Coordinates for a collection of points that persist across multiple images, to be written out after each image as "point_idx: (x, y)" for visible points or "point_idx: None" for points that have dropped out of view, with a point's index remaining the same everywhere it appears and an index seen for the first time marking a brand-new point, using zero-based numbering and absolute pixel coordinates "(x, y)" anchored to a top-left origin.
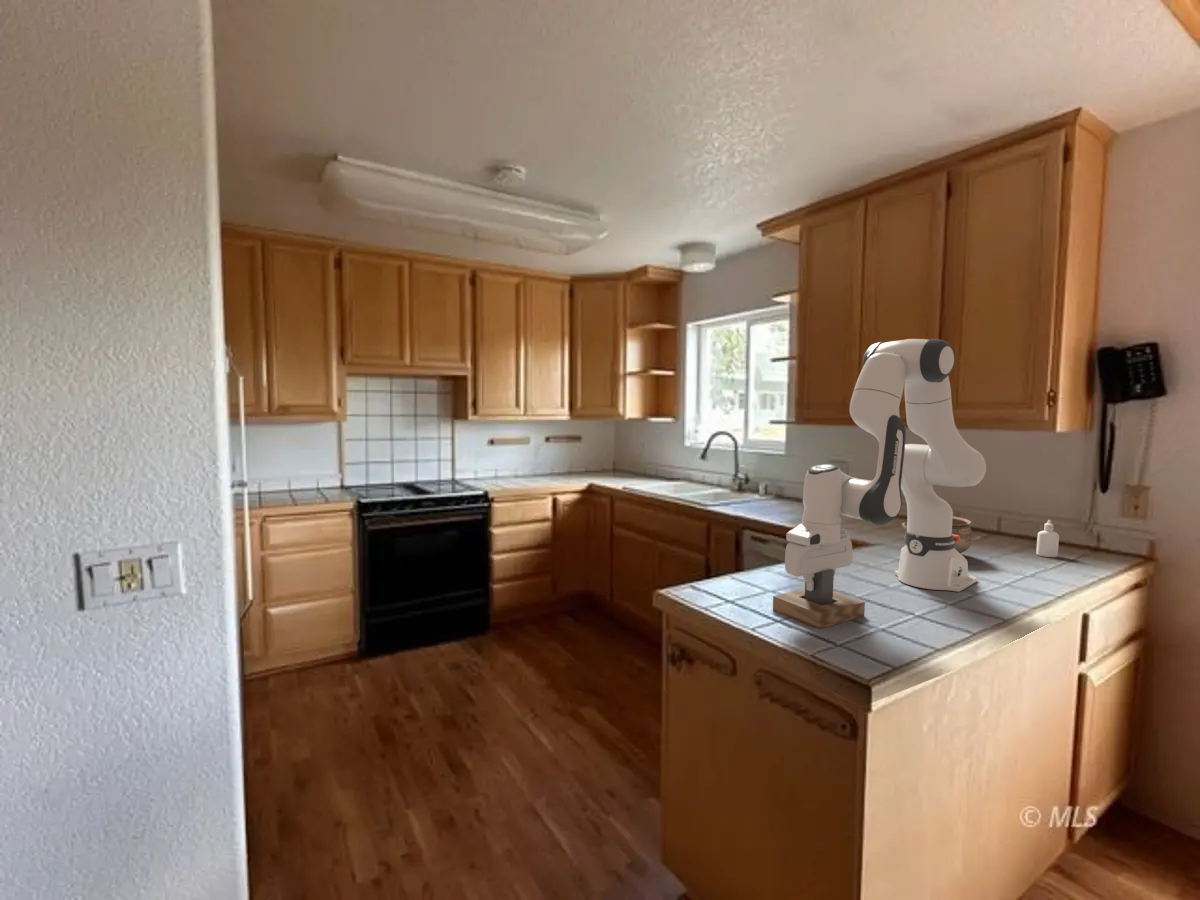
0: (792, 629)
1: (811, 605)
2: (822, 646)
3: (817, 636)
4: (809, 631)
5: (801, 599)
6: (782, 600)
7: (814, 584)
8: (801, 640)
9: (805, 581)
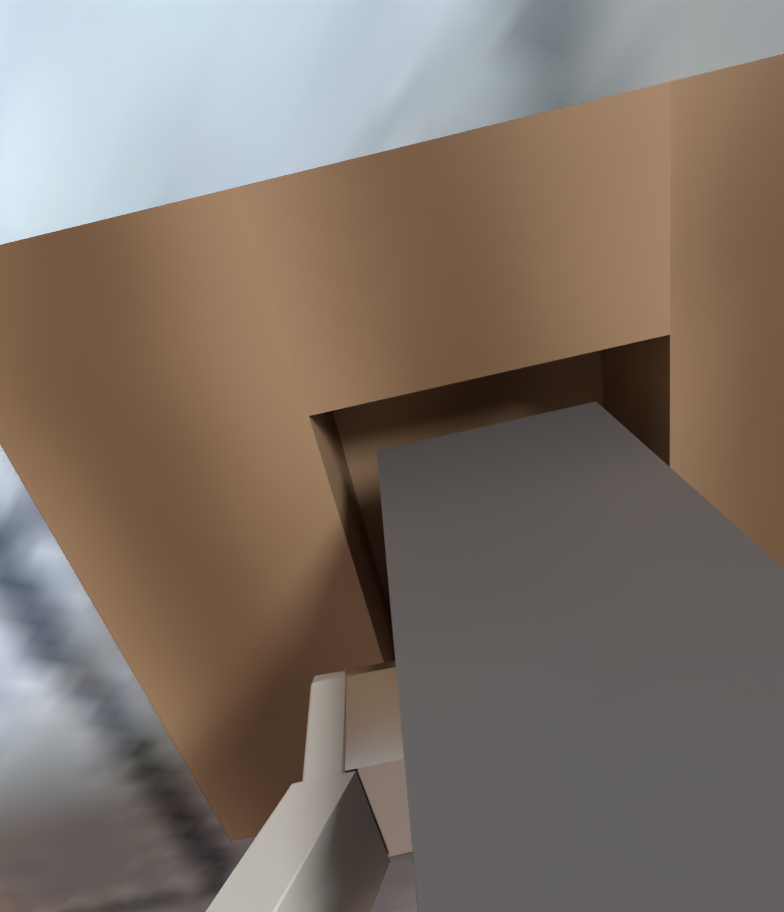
0: (42, 690)
1: (285, 688)
2: (127, 884)
3: (172, 796)
4: (160, 735)
5: (287, 512)
6: (12, 453)
7: (398, 842)
8: (31, 819)
9: (394, 629)
